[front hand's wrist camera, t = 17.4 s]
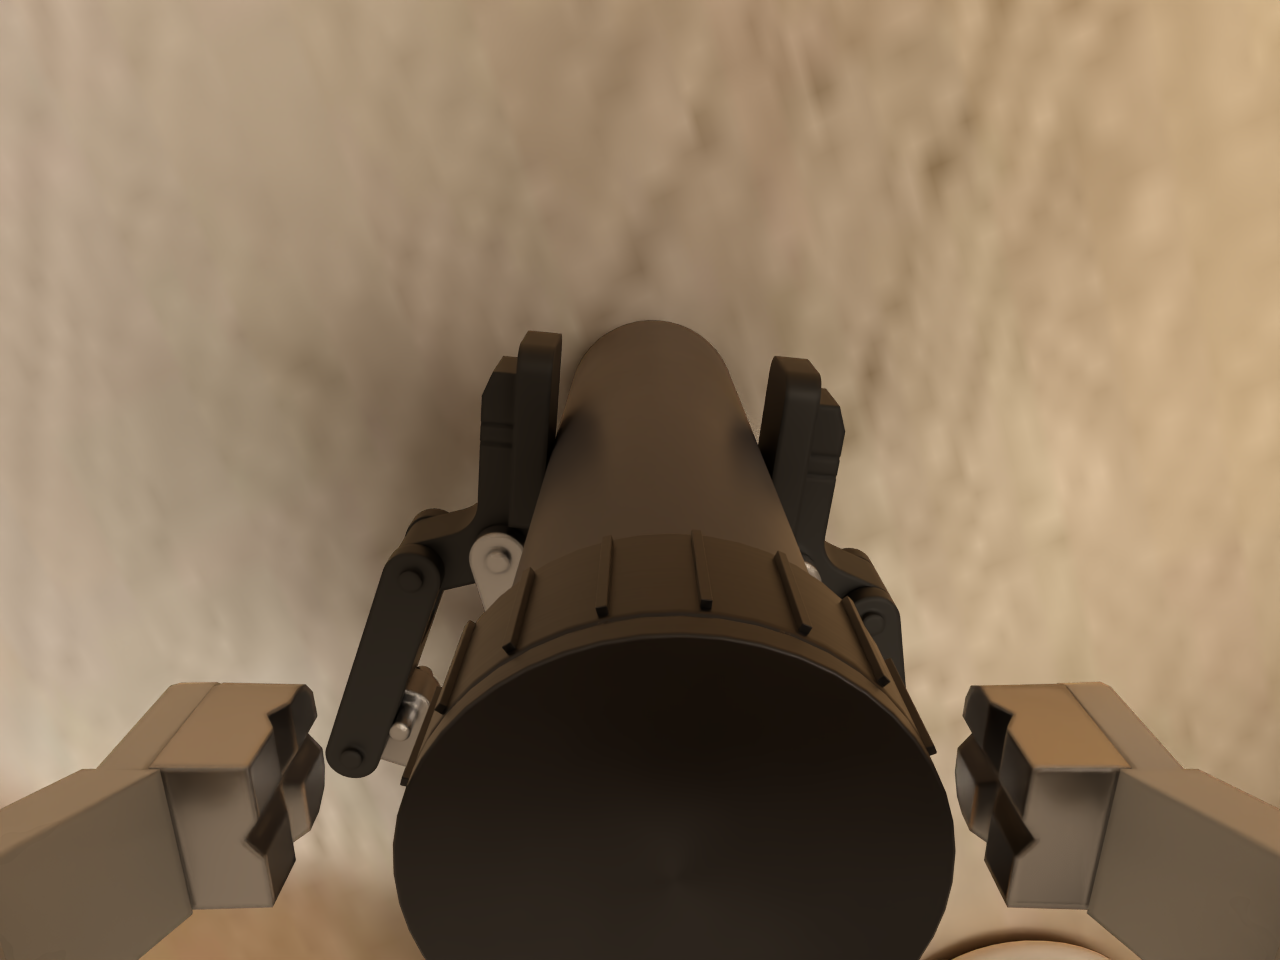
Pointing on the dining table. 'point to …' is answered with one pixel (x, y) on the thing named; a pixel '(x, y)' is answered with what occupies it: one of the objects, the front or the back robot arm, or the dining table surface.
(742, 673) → the lid
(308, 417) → the dining table surface
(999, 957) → the cream short cylinder
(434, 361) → the dining table surface
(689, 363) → the brown cylindrical canister
